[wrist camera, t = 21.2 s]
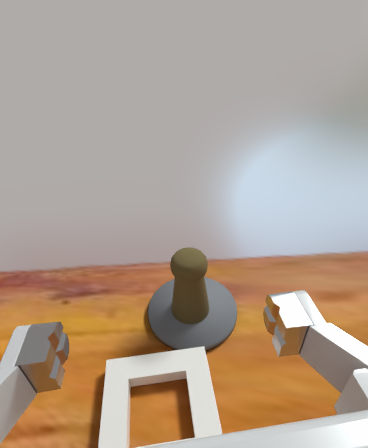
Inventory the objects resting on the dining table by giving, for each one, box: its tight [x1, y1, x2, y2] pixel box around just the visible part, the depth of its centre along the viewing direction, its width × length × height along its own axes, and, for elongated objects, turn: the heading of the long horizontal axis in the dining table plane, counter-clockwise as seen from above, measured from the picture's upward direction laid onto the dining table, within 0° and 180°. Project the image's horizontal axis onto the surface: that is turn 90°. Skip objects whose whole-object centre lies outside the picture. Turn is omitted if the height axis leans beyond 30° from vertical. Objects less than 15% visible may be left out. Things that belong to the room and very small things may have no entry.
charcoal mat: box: [148, 277, 237, 351], centre depth 45 cm, size 14×14×1 cm
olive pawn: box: [170, 248, 209, 324], centre depth 42 cm, size 6×6×11 cm
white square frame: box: [98, 346, 222, 448], centre depth 33 cm, size 13×13×2 cm
